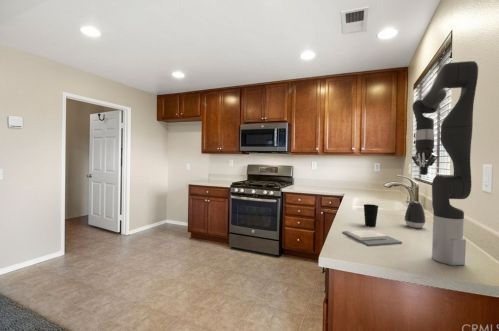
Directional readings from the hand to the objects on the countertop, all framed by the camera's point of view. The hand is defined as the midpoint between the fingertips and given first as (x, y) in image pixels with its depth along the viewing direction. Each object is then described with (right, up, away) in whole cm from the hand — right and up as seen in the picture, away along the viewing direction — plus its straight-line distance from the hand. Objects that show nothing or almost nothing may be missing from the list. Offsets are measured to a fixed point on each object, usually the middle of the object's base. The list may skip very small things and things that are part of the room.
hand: (423, 174), depth 123 cm
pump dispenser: (+11, -31, +23) cm, 41 cm away
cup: (-14, -31, +25) cm, 42 cm away
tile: (-20, -30, +3) cm, 36 cm away
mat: (-25, -31, +2) cm, 40 cm away
